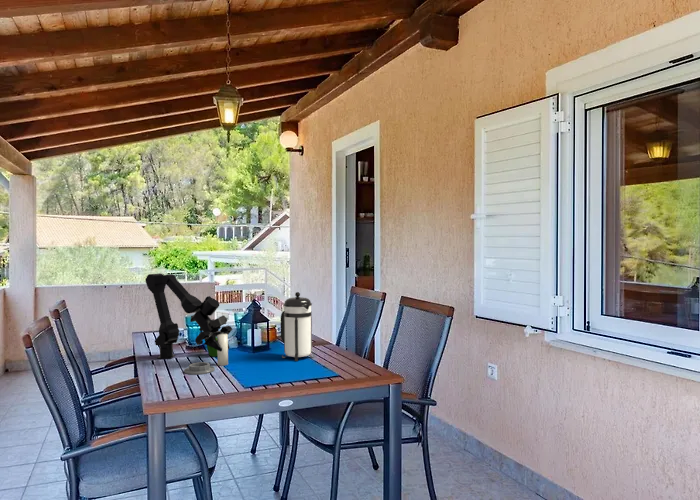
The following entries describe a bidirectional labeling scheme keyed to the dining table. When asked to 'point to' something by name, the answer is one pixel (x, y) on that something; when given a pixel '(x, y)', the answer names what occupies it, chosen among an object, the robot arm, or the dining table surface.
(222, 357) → the candle
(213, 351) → the bell pepper
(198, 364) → the holder
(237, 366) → the dining table surface
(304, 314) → the coffee press
